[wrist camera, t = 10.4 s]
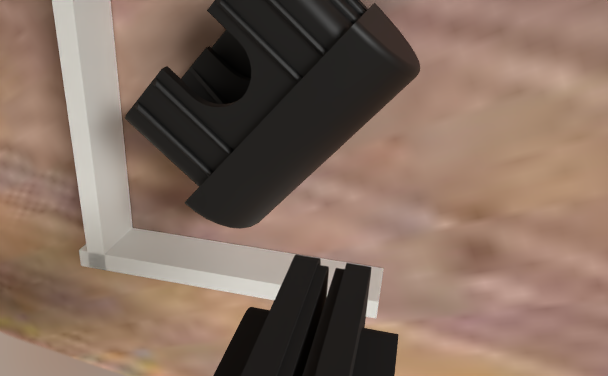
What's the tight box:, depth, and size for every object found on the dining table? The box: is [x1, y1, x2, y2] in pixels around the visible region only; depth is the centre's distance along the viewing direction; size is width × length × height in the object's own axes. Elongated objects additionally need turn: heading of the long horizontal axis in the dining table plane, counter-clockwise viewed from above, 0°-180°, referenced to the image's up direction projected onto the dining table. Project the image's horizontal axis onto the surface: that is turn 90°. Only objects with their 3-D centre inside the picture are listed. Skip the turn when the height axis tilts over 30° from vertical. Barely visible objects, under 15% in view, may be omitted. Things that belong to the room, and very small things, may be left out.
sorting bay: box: [52, 0, 384, 318], centre depth 25 cm, size 18×16×3 cm
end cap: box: [125, 0, 420, 228], centre depth 23 cm, size 10×7×7 cm
